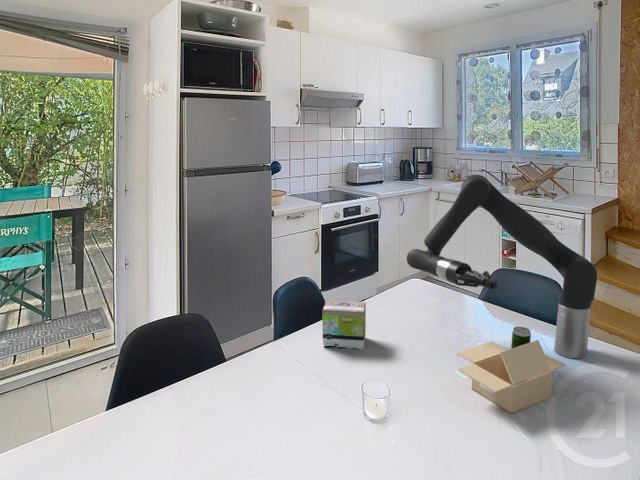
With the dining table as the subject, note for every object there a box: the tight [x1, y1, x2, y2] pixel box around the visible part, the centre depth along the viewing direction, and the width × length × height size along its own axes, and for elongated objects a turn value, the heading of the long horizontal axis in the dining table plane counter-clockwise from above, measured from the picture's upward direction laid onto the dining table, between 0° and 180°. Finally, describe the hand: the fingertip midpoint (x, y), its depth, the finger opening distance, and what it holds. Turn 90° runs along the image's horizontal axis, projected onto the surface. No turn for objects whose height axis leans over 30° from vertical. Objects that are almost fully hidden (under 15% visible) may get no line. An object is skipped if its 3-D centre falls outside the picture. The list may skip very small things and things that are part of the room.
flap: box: [500, 339, 551, 385], centre depth 119 cm, size 15×1×8 cm, turn 116°
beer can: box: [510, 326, 532, 349], centre depth 139 cm, size 5×5×12 cm
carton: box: [456, 341, 567, 415], centre depth 127 cm, size 28×21×8 cm
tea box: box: [321, 299, 367, 350], centre depth 158 cm, size 15×10×15 cm, turn 81°
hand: (495, 285), depth 128 cm, fingers closed
